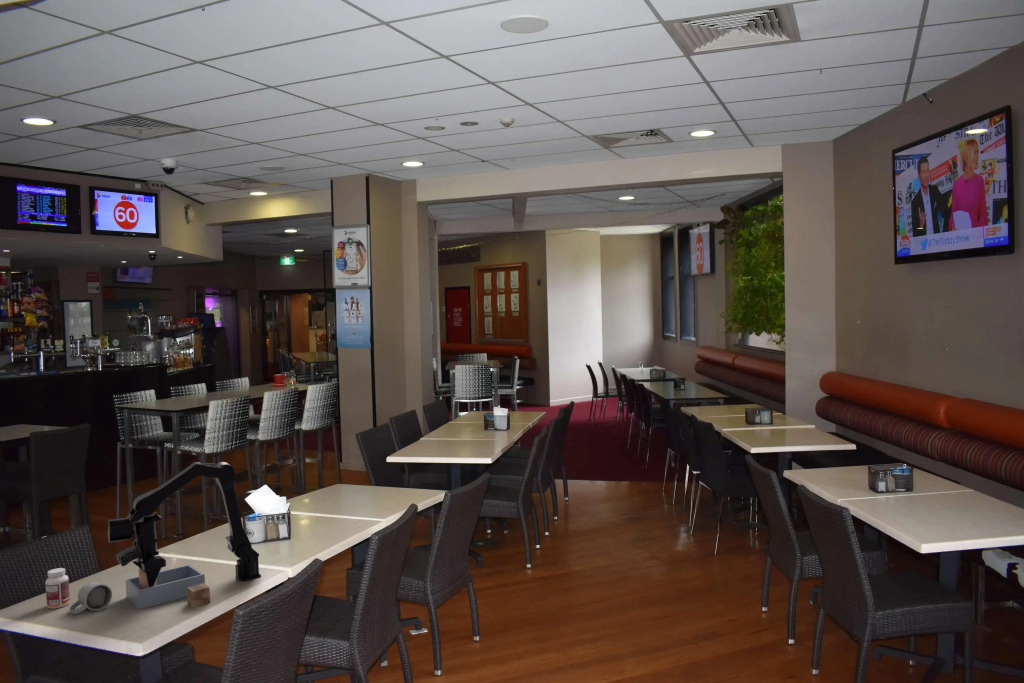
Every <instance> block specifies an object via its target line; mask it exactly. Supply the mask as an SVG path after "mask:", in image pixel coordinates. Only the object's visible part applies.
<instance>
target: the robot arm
mask: <svg viewBox="0 0 1024 683" xmlns="http://www.w3.org/2000/svg"><path fill="white" fill-rule="evenodd" d="M199 476H201V477H208V478H213V479H214V478H215V482H216V483H217V486H218V487H219V489H220V491H221V495H222V500H223V504H224V508H225V513H226V517H227V518H226V519H227V522H228V527H229V535H228V536H225V540H226V542H227V549H228V550H229V551H230V552H231V553H233V555H234V556H235V557H237V559H236V564H235V566H234V567H235V578H236V579H238V580H240V581H242V582H245V581H249V580H252V579H257V578H260V577H262V574H261V573H260V568H259V567H260V565H259V556H260V553H259V552H258V551H257V550H256V549H254V548H253V546H252V544H251V542H250V539H249V537H248V535H247V533H246V531H245V530H244V527H243V521H242V516H241V513H240V509H239V508H240V507H239V503H238V499H237V495H236V488H235V487H236V469H235V468H234V466H233V465H231V464H230V463H228V462H226V461H225V462H224V461H221V462H219V463H217V464H216V463H208V462H207V463H205V462H199V461H198V462H197V461H194V462H192V463H191V464H190V465H189V466H187V467H186V468H185V469H183V470H182V471H181V472H179V473H177V474H176V475H174V476H173V477H172V478H171V479H169V480H167V481H165V483H163V484H162V485H160V486H159V487H157V488H154V489H151V490H149V491H147V492H144V493H143V494H140V495H138V496H137V497H136V498H135V499H134V500H133V503H132V506H133V507H132V508H131V510H130V511H129V512H128V514H127V516H126V517H123V518H117V519H114V518H113V519H108V526H107V527H108V528H107V537H108V543H117V542H121V541H122V542H123V541H127V540H130V539H131V538H132V537H133V536H134V531H135V539H134V541H133V542H132V543H133V545H132V546H129V547H126V548H125V549H123V550H121V551H119V552H118V553H116V554H115V557H116V558H115V559H117V561H118V563H119V565H120V566H121V567H125V566H127V565H128V564H129V563H133V564H134V565H135V566H136V567H138V570H139V569H141V570H142V571H144V572H145V573H146V577H147V581H148V585H149V587H153V586H154V584H155V581H156V579H157V576H158V574H159V572H160V571H162V570H161V569H162V568H165V567H167V560H166V559H165V558H164V557H162V556H161V555H160V551H158V545H157V543H158V542H159V538H158V537H157V530H156V522H158V521H162V520H163V518H162V516H161V515H159V514H158V513H157V511H156V510H158V508H159V507H161V505H162V504H163V503H164V501H165V500H166V499H168V498H169V497H171V496H172V495H174V494H175V493H176V492H178V491H179V490H181V489H182V488H184V486H186V485H187V484H189V483H190V482H192V481H193V480H194V479H197V478H198V477H199Z"/></svg>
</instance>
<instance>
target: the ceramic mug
mask: <svg viewBox="0 0 1024 683" xmlns="http://www.w3.org/2000/svg"><path fill="white" fill-rule="evenodd" d="M112 597H113V591H112V589H111V588H110V586H109V585H107V584H103V583H101V582H96V581H92V582H88V583H85V584H84V585H82V587H81V588H80V589H79V591H78V593H77V601H75V602H74V603H73V604H71V606H70V607H69V609H68V610H69V612H70V614H71V615H77V614H79V613H82V612H83V611H85V610H86V609H88V610H90V611H92V612H93V611H94V612H98V611H101V610H103V609H105V608H106V607H107V606H109V604H110V602H111V601H112Z"/></svg>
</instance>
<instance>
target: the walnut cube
mask: <svg viewBox="0 0 1024 683" xmlns="http://www.w3.org/2000/svg"><path fill="white" fill-rule="evenodd" d="M187 595H188V596H187V604H188V605H190V607H192V608H193V609H194V608H197V607H201V606H206V605H208V604H210V603H211V591H210V586H208V585H207V584H206V583H205V584H204V583H203V584H199V585H195V586H191V587H187Z"/></svg>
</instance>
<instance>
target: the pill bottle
mask: <svg viewBox="0 0 1024 683" xmlns="http://www.w3.org/2000/svg"><path fill="white" fill-rule="evenodd" d="M47 577H48V578H47V579H46V580H45V583H44V584H45V595H46V596H45V597H46V606H47V608H48V609H51V610H54V609H60V608H64V607H66V606H68V605H70V603H71V595H70V593H71V592H70V582H69V581H70V580H69V579H70V578H69V576H68V575H66V568H63V567H59V568H58V567H57V568H53V569H50V570H48V571H47Z"/></svg>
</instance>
